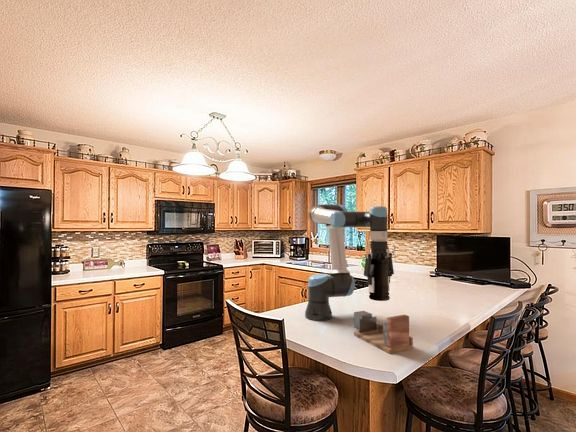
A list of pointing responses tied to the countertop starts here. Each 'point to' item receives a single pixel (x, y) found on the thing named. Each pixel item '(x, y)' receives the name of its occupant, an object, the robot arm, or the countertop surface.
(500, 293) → the countertop surface
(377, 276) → the container
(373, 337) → the rack
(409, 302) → the countertop surface
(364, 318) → the bookend
